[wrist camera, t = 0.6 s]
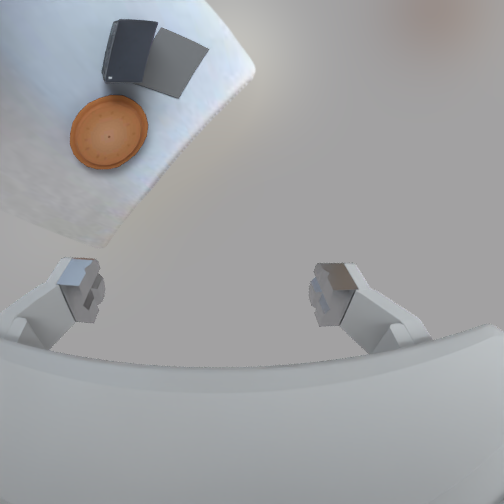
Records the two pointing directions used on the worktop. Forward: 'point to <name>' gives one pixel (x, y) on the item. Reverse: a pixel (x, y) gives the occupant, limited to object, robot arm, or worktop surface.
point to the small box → (128, 50)
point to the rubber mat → (171, 62)
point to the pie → (108, 132)
